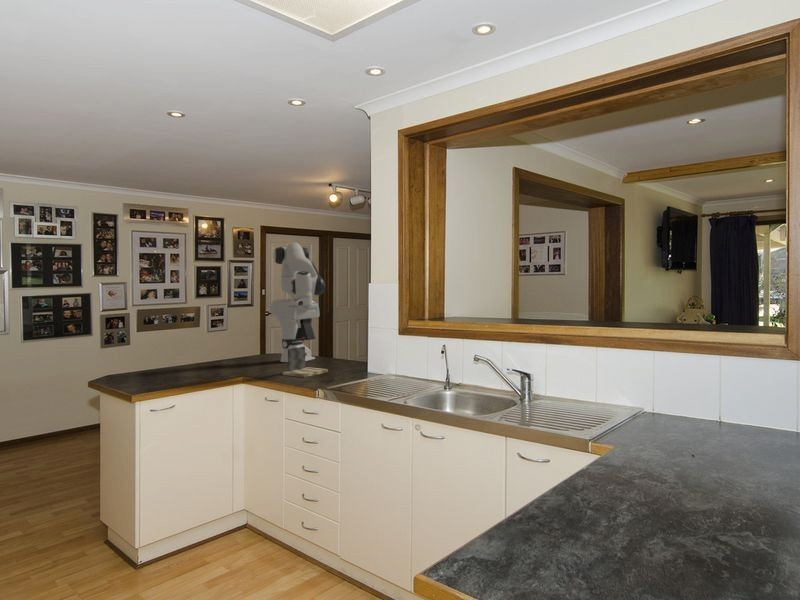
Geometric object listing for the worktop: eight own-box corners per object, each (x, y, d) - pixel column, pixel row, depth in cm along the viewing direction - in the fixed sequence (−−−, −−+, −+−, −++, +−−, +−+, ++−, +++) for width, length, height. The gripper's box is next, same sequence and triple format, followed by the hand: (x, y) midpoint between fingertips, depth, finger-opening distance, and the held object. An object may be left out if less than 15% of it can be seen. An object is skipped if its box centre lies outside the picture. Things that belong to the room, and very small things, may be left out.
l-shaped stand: (306, 369, 301) (306, 345, 300) (327, 371, 291) (327, 347, 291) (282, 374, 286) (282, 349, 285) (304, 377, 277) (303, 351, 276)
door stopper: (315, 338, 288) (314, 316, 287) (307, 340, 283) (307, 317, 282) (302, 338, 293) (302, 316, 292) (295, 339, 288) (294, 317, 287)
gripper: (313, 300, 297) (314, 325, 298) (286, 302, 281) (286, 328, 281) (321, 300, 294) (322, 325, 294) (294, 302, 277) (295, 329, 277)
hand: (304, 327), depth 287 cm, fingers closed on door stopper, 6 cm apart
